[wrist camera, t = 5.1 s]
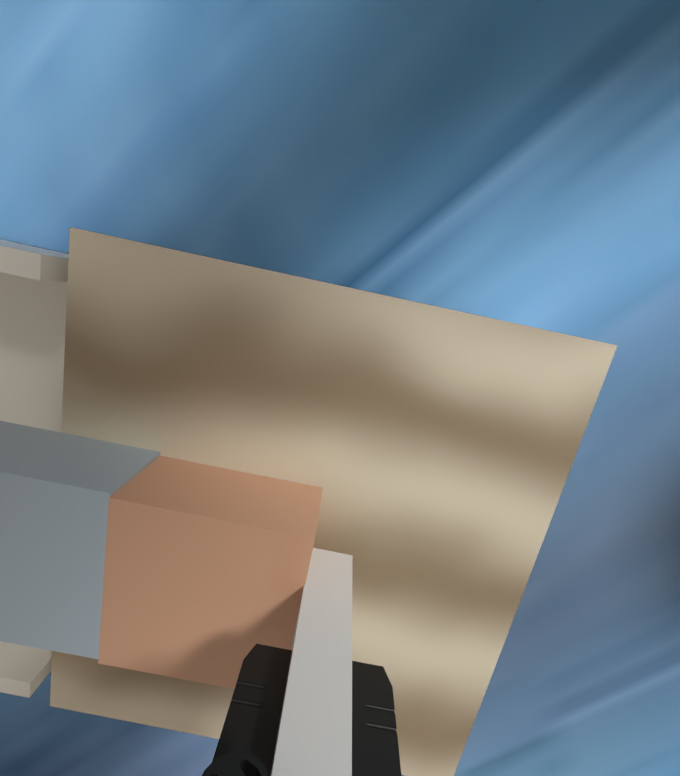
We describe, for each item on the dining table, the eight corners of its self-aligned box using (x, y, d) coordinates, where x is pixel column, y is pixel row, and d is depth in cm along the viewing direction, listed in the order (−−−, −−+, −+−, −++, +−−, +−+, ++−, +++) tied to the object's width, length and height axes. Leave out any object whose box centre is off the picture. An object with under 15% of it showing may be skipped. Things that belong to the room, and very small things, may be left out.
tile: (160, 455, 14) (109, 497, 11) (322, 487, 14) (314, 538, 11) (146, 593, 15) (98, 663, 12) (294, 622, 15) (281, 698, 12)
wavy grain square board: (137, 244, 16) (69, 226, 12) (554, 334, 16) (617, 345, 13) (106, 629, 21) (49, 706, 17) (432, 694, 21) (450, 784, 17)
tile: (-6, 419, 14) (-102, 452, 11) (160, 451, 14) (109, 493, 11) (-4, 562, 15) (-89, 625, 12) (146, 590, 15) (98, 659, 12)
